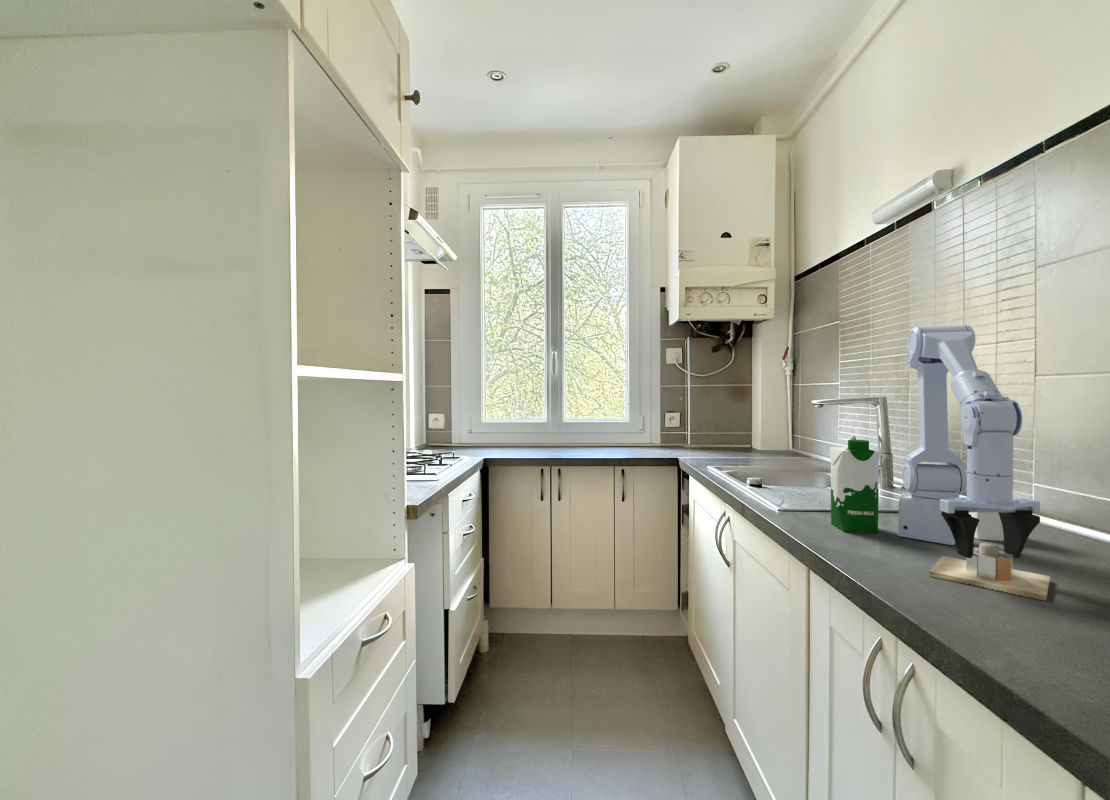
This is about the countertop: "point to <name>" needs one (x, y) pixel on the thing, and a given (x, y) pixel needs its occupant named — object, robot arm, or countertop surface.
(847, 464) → the milk carton
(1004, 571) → the collar
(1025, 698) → the countertop surface
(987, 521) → the medicine bottle
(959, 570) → the duct board
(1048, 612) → the countertop surface
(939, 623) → the countertop surface
